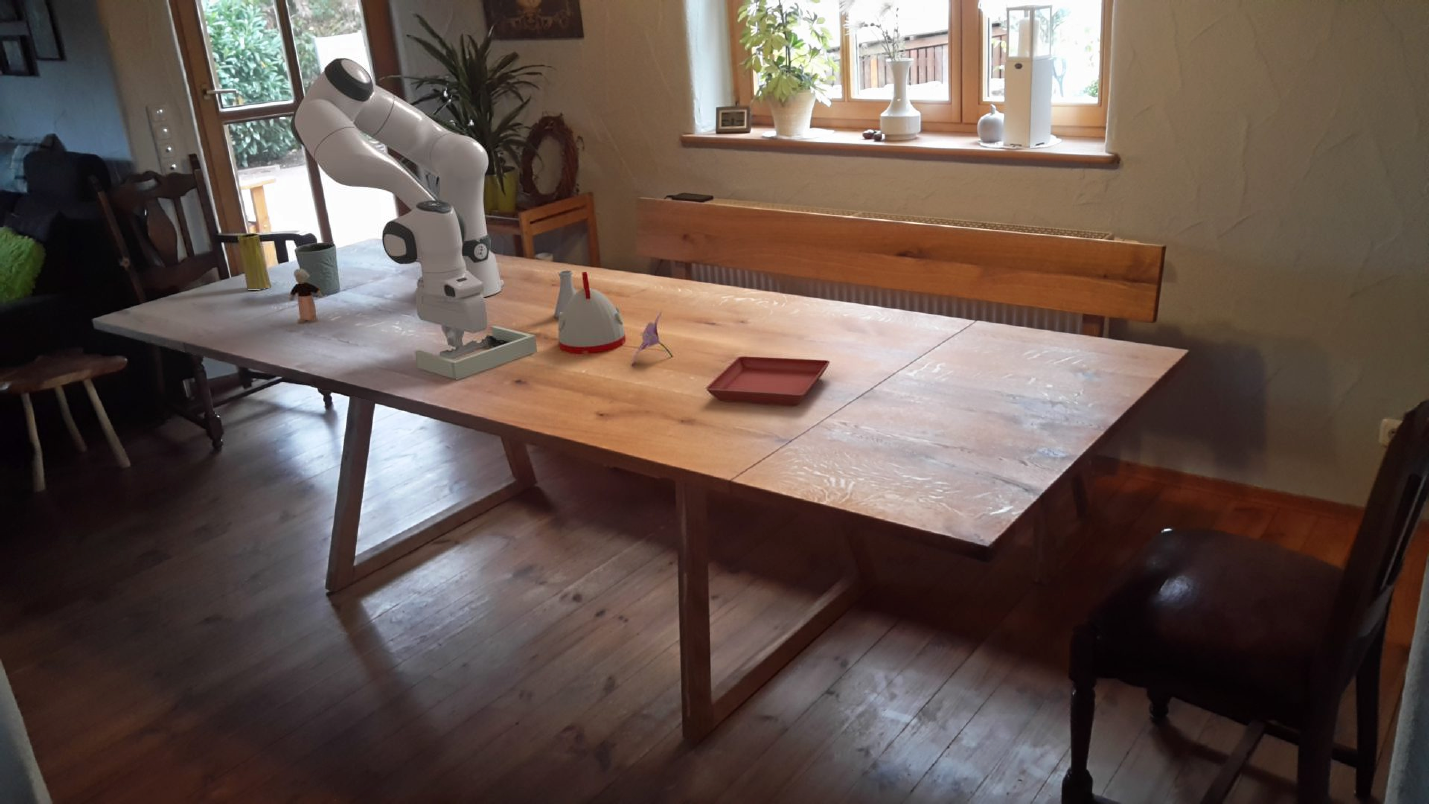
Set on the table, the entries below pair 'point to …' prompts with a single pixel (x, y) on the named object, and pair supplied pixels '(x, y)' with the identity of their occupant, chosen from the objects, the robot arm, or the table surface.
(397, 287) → the table surface
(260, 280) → the vase
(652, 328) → the lily
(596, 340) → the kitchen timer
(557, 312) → the flask
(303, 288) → the grandmother figurine
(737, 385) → the plant saucer
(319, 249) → the green plant pot
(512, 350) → the frame
